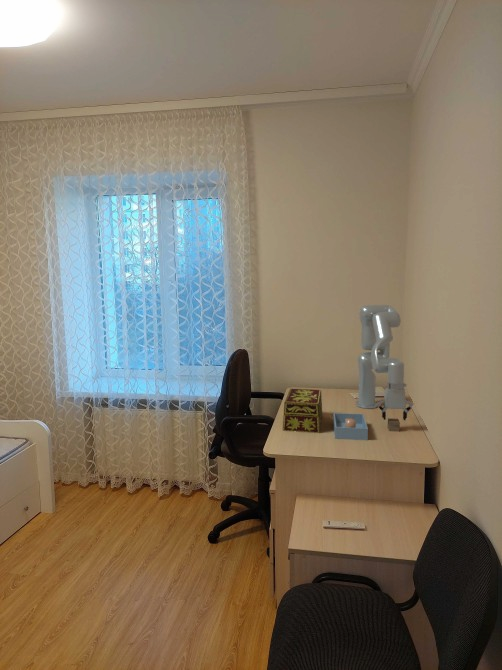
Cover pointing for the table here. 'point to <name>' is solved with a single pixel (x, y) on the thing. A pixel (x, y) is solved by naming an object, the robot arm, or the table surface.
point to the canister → (350, 423)
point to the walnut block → (393, 424)
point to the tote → (350, 433)
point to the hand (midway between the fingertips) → (394, 419)
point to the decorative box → (303, 411)
